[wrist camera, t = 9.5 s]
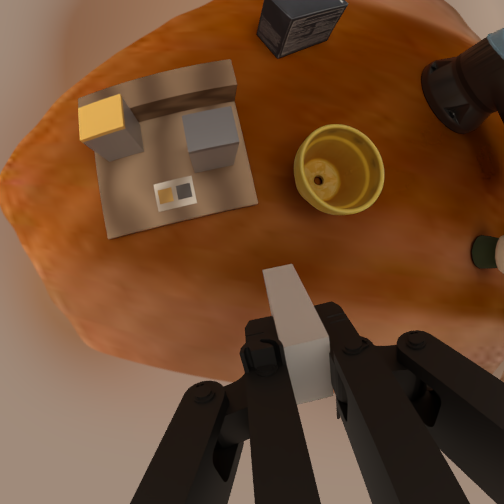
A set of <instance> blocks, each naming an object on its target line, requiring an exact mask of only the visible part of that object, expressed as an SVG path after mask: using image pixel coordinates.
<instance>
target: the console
mask: <svg viewBox="0 0 504 504" xmlns="http://www.w3.org/2000/svg"><path fill="white" fill-rule="evenodd" d="M236 88H237V82H236V78H235V74H234V70H233V66H232V63H231V59H229V60H222V61H216V62H210V63H204V64H198V65H193V66H188V67H183V68H179V69H174V70H170V71H166V72H161V73H157V74H153V75H150V76H146V77H142V78H139V79H135V80H132V81H128V82H125V83H122V84H118V85H115V86H112V87H109V88H106V89H103V90H100V91H97V92H95V93H92V94H89V95H86V96H84V97H81V98H79V99H78V108H80V107H83V106H86V105H88V104H91V103H94V102H97V101H99V100H102V99H105V98H108V97H111V96H114V95H118V94H121V96H122V97H123V99H124V100H125V102H126V104H127V105H128V107H129V108H130V110H131V111H132V113H133V114H134V116H135V117H136V119H137V121H138V122H139V124H140V127H141V134H142V141H143V148H144V152H140V153H137V154H133V155H130V156H126V157H123V158H120V159H116V160H113V161H110V162H109V161H108V160H106V159H105V158H103V157H102V156H101V155H99V154H98V153H96V152H95V160H96V168H97V176H98V183H99V190H100V196H101V203H102V209H103V214H104V220H105V225H106V230H107V236H108V239H114V238H118V237H121V236H125V235H129V234H133V233H137V232H141V231H145V230H149V229H153V228H157V227H161V226H165V225H169V224H173V223H177V222H181V221H186V220H190V219H194V218H198V217H203V216H207V215H211V214H216V213H220V212H225V211H229V210H234V209H239V208H243V207H248V206H253V205H257V204H258V200H257V196H256V192H255V187H254V183H253V178H252V174H251V170H250V165H249V161H248V157H247V152H246V148H245V144H244V140H243V135H242V131H241V127H240V123H239V118H238V114H237V110H236V106H235V102H234V101H235V94H236ZM228 106H231V107H232V112H233V116H234V120H235V124H236V129H237V133H238V137H239V146H238V150H237V154H236V157H235V161H234V165H231V166H226V167H221V168H217V169H212V170H207V171H203V172H198V173H195V172H194V169H193V165H192V162H191V159H190V156H189V153H188V148H187V142H186V137H185V132H184V126H183V121H182V116H183V115H187V114H192V113H197V112H202V111H207V110H212V109H217V108H223V107H228Z"/></svg>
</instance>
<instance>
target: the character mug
mask: <svg viewBox="0 0 504 504" xmlns="http://www.w3.org/2000/svg"><path fill="white" fill-rule="evenodd" d="M472 258H473V261H474V263H475V265H476V266H477V267H478V268H498V269H499V271H501V272H502V273H504V235H503V236H501V237H500V238H495V237H491V236H484V235H481V236H479V237H478V238H477V239H476V241H475V242H474V245H473V249H472Z"/></svg>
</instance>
